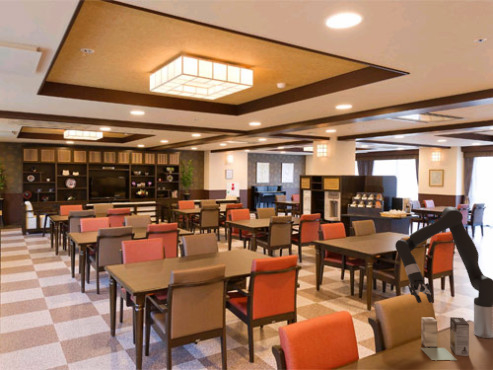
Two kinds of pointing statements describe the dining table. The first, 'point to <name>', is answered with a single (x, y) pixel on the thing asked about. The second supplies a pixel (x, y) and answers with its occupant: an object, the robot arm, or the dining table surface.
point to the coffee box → (459, 336)
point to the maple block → (429, 332)
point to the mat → (438, 354)
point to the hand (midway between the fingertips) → (425, 302)
